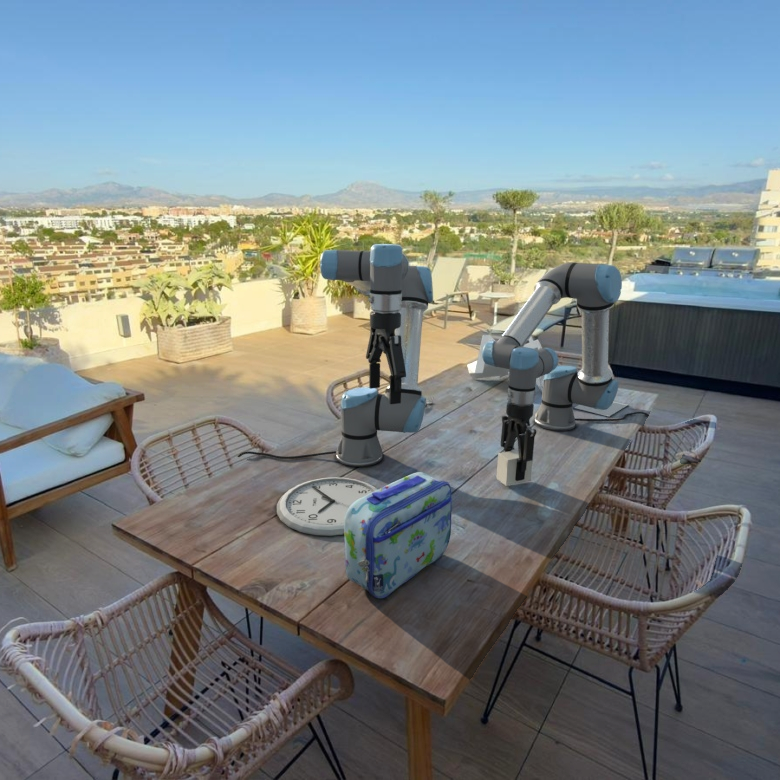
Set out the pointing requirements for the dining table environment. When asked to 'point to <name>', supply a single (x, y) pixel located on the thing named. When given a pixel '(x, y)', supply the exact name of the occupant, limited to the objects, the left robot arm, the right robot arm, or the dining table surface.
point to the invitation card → (608, 412)
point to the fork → (429, 402)
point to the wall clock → (321, 504)
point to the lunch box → (397, 532)
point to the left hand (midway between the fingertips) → (384, 395)
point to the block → (511, 468)
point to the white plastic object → (484, 370)
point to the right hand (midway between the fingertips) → (514, 475)
